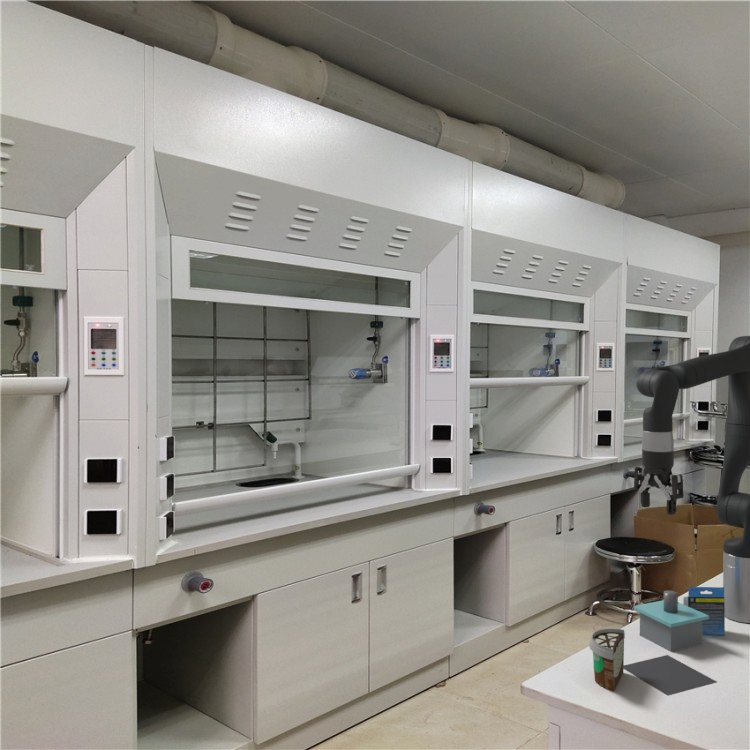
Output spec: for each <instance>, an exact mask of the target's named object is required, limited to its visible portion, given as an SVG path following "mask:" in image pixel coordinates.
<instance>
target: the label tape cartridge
mask: <svg viewBox="0 0 750 750" xmlns="http://www.w3.org/2000/svg"><path fill="white" fill-rule="evenodd" d="M706 591H707V592H710V593H704V592H706ZM701 592H703V593H701ZM682 599H683V600H682V602H683V603H682V604H683V605H686V606H688V607H690V608H693V609H695V610H697V611H699V612H702V613H704V614H706V615H709V619H707V620H703V622H702V636H704V635H705V636H709V635H711V636H725V631H726V630H725V629H726V627H725V623H726V621H725V619H726V617H725V599H724V587H723V586H722V587H721V586H719V587H717V586H715V587H714V586H712V587H711V586H688V596H684V597H683V598H682Z"/></svg>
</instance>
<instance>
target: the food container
mask: <svg viewBox="0 0 750 750" xmlns="http://www.w3.org/2000/svg"><path fill="white" fill-rule="evenodd" d="M625 635H626V634H625V629H622V628H621V629H620V628H602V629H599V630H596V631H594V632H593V633H592V634H591V637H590V640H589V645H588V646H589V650H591V651H592V660H593V661H592V663H593V673H594V675H593V676H594V681H595V683H596V684H597V685H598V686H600V687H601V688H603V689H605V690H607V691H611V692H615V690H616V688H617V686H618V683H619V682H620V679H621V678H622V676H623V674H624V669H623V668H624V665H625V664H624V661H625V660H624V659H625Z"/></svg>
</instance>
